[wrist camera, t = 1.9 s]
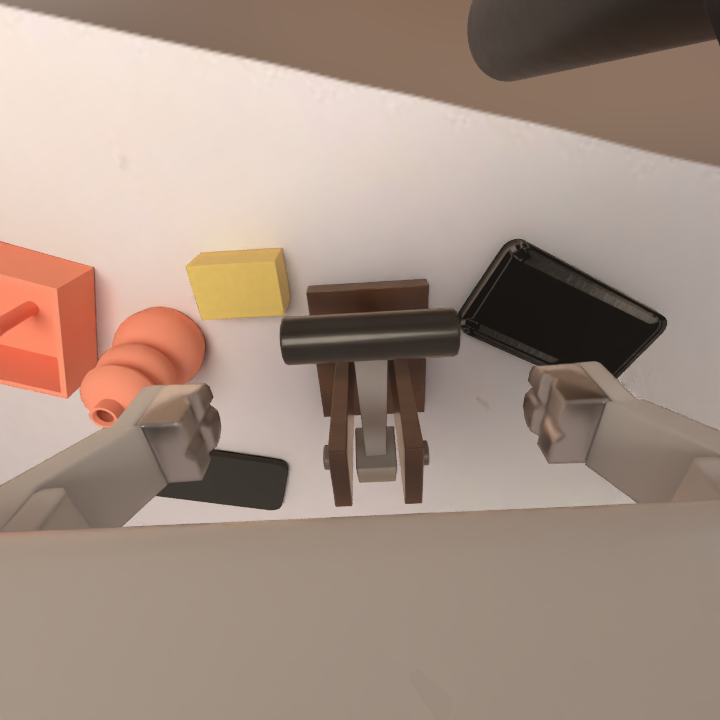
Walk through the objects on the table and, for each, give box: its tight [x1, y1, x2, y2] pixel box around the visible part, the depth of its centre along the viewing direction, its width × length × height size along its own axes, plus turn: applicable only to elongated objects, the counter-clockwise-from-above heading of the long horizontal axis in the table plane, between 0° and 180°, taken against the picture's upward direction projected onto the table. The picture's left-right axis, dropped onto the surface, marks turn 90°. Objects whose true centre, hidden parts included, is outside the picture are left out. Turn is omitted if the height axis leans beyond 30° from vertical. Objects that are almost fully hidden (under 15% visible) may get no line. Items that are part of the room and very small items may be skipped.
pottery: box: [0, 242, 205, 428], centre depth 27 cm, size 18×10×10 cm, turn 72°
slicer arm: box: [280, 308, 460, 483], centre depth 18 cm, size 14×6×2 cm, turn 4°
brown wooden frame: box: [307, 279, 429, 507], centre depth 27 cm, size 12×9×14 cm
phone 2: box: [458, 239, 667, 379], centre depth 31 cm, size 8×1×15 cm
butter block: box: [186, 248, 291, 320], centre depth 28 cm, size 4×6×3 cm, turn 94°
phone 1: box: [156, 450, 288, 510], centre depth 40 cm, size 7×1×15 cm
